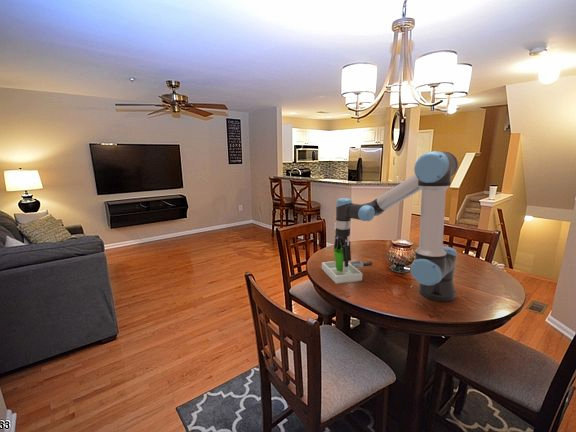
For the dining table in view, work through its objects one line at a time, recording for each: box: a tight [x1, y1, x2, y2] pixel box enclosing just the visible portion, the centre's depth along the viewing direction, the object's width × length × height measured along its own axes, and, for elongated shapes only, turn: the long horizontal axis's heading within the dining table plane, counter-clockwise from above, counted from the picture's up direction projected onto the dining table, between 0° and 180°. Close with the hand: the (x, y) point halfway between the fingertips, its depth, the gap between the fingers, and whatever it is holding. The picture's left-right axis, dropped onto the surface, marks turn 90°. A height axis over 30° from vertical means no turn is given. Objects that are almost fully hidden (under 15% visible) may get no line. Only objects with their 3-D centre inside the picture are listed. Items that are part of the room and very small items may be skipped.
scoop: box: [349, 260, 373, 269], centre depth 166 cm, size 12×5×2 cm, turn 105°
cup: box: [333, 248, 344, 272], centre depth 152 cm, size 9×9×11 cm
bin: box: [321, 260, 364, 285], centre depth 153 cm, size 20×15×4 cm
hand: (341, 268), depth 153 cm, fingers closed on cup, 9 cm apart
